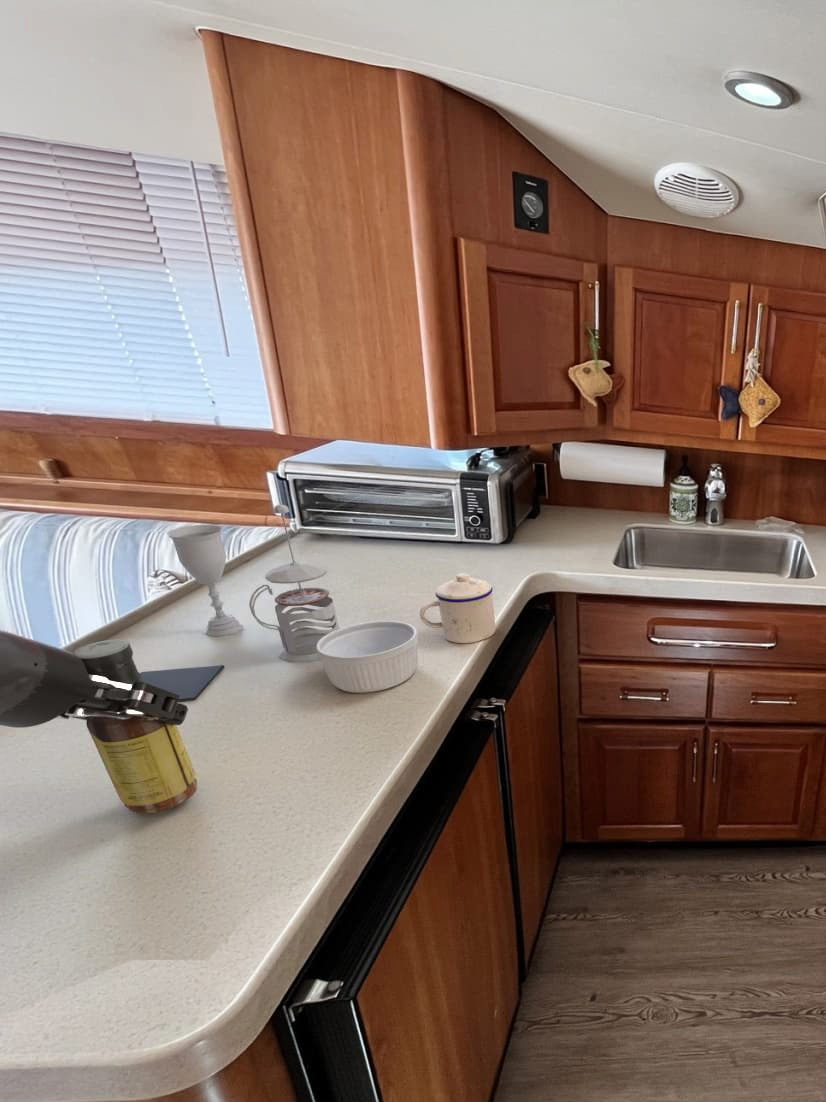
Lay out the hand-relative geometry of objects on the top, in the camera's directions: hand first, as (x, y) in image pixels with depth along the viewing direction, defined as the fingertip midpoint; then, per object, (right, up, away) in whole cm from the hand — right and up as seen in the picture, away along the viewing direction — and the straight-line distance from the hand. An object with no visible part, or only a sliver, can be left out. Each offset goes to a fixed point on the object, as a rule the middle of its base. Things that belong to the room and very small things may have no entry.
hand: (146, 715), depth 70 cm
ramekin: (+5, 0, +31) cm, 31 cm away
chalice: (-29, +7, +41) cm, 51 cm away
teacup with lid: (+10, +6, +46) cm, 48 cm away
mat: (-22, 0, +24) cm, 32 cm away
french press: (-11, +4, +37) cm, 39 cm away
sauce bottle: (-1, -10, +3) cm, 11 cm away
